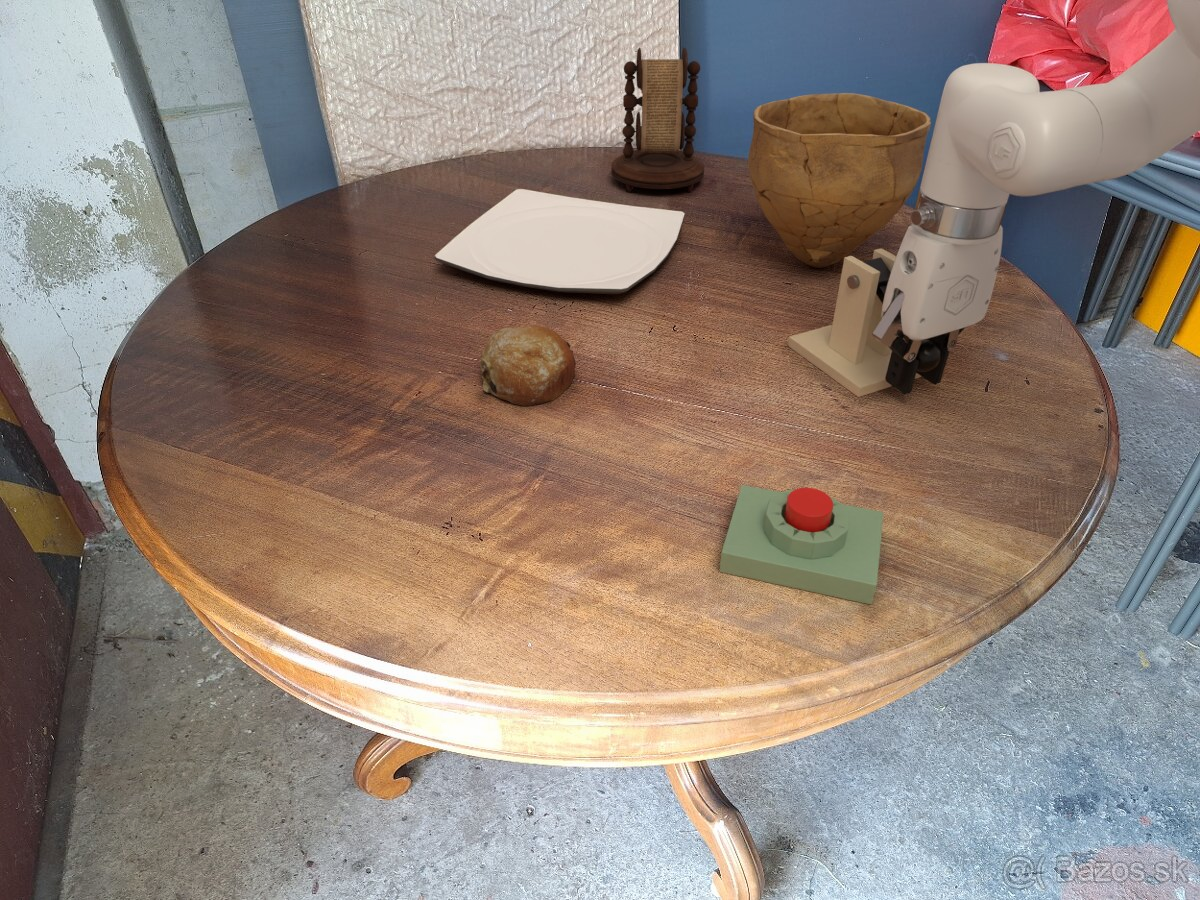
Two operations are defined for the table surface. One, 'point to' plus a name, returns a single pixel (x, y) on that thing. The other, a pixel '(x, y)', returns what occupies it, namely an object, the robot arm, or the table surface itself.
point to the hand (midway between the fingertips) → (912, 381)
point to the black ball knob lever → (927, 350)
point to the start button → (808, 510)
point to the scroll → (659, 125)
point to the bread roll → (527, 365)
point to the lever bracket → (852, 332)
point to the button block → (803, 547)
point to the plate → (564, 243)
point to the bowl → (834, 169)
